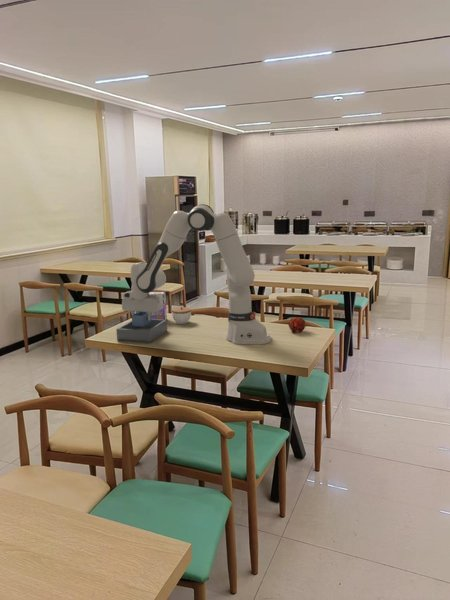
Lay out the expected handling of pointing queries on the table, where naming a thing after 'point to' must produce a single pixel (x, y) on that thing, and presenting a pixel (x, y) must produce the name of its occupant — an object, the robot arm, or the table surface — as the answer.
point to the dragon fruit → (297, 324)
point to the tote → (140, 319)
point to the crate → (142, 331)
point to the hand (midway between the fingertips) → (141, 319)
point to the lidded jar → (181, 315)
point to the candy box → (162, 312)
